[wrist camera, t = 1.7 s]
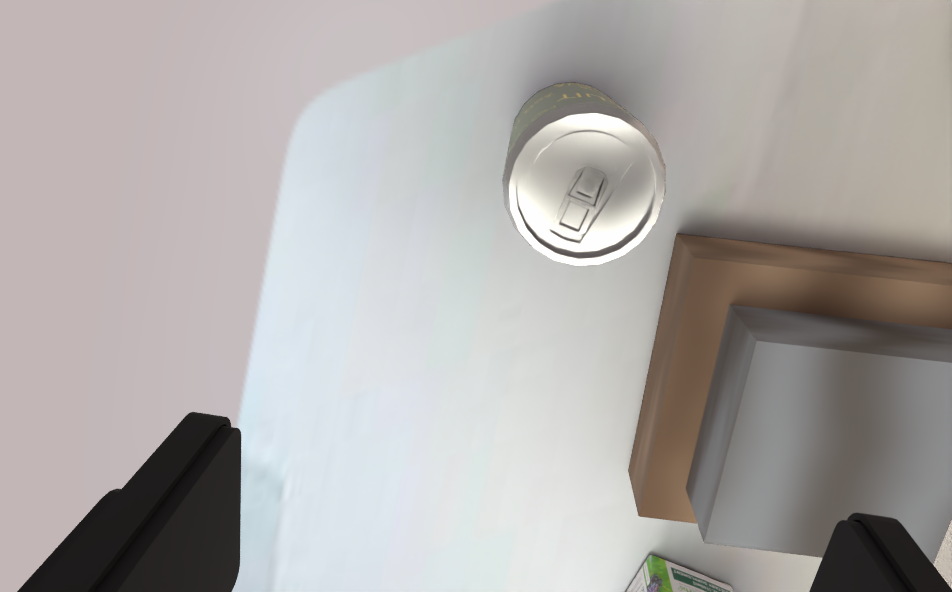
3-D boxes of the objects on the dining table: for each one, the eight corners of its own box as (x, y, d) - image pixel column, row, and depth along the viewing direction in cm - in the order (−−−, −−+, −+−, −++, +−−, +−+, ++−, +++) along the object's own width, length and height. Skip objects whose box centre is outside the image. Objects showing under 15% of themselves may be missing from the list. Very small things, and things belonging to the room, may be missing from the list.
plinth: (963, 264, 34) (1085, 329, 26) (878, 500, 39) (960, 611, 31) (676, 233, 34) (717, 288, 27) (628, 470, 39) (651, 572, 32)
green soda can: (594, 211, 34) (625, 296, 23) (493, 170, 34) (476, 236, 23) (643, 107, 32) (703, 145, 21) (537, 62, 32) (541, 77, 21)
